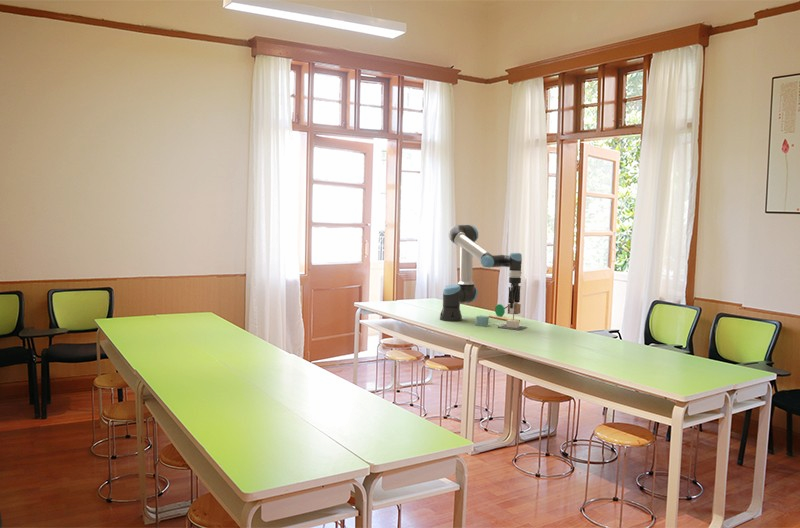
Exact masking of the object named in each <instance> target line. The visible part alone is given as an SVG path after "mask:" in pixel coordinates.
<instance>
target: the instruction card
mask: <svg viewBox="0 0 800 528" xmlns="http://www.w3.org/2000/svg"><path fill="white" fill-rule="evenodd" d="M493 325H496V326H503V325H507V323H503V322H495V323H493Z"/></svg>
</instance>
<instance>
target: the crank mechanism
mask: <svg viewBox="0 0 800 528" xmlns="http://www.w3.org/2000/svg"><path fill="white" fill-rule="evenodd" d="M514 302H515V300H514ZM506 309H508V305H507V306H505V307H504V305H502V304H501V303H500V304H497V305H496V306H495V309H494V311H495V314H492V315H490V314H489V315H488V316H489V319H494V320H499V321H504V322H507V320H516V321H520V322H521V320H520V319H516V318H515V314H512V318H511V317H506V316H504V315H505V313H506V312H505V311H506Z"/></svg>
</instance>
